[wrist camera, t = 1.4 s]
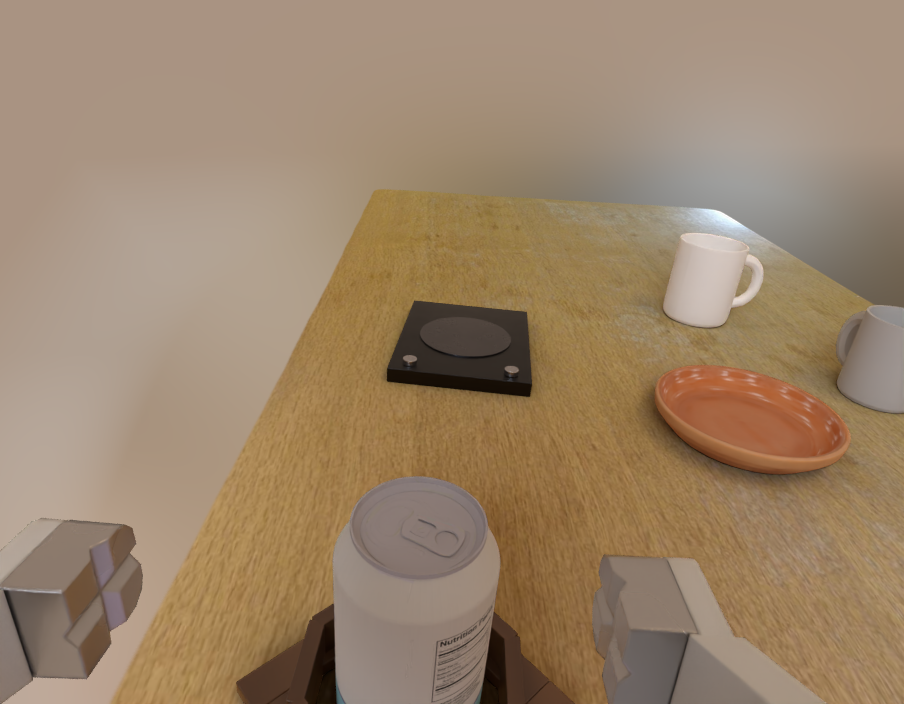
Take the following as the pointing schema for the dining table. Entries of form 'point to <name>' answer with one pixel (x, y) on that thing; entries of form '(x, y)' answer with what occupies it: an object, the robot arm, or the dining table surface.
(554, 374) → the dining table surface
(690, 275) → the mug
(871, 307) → the cup
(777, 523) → the dining table surface
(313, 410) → the dining table surface
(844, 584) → the dining table surface
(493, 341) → the hob
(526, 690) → the can holder
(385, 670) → the beverage can
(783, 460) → the saucer
